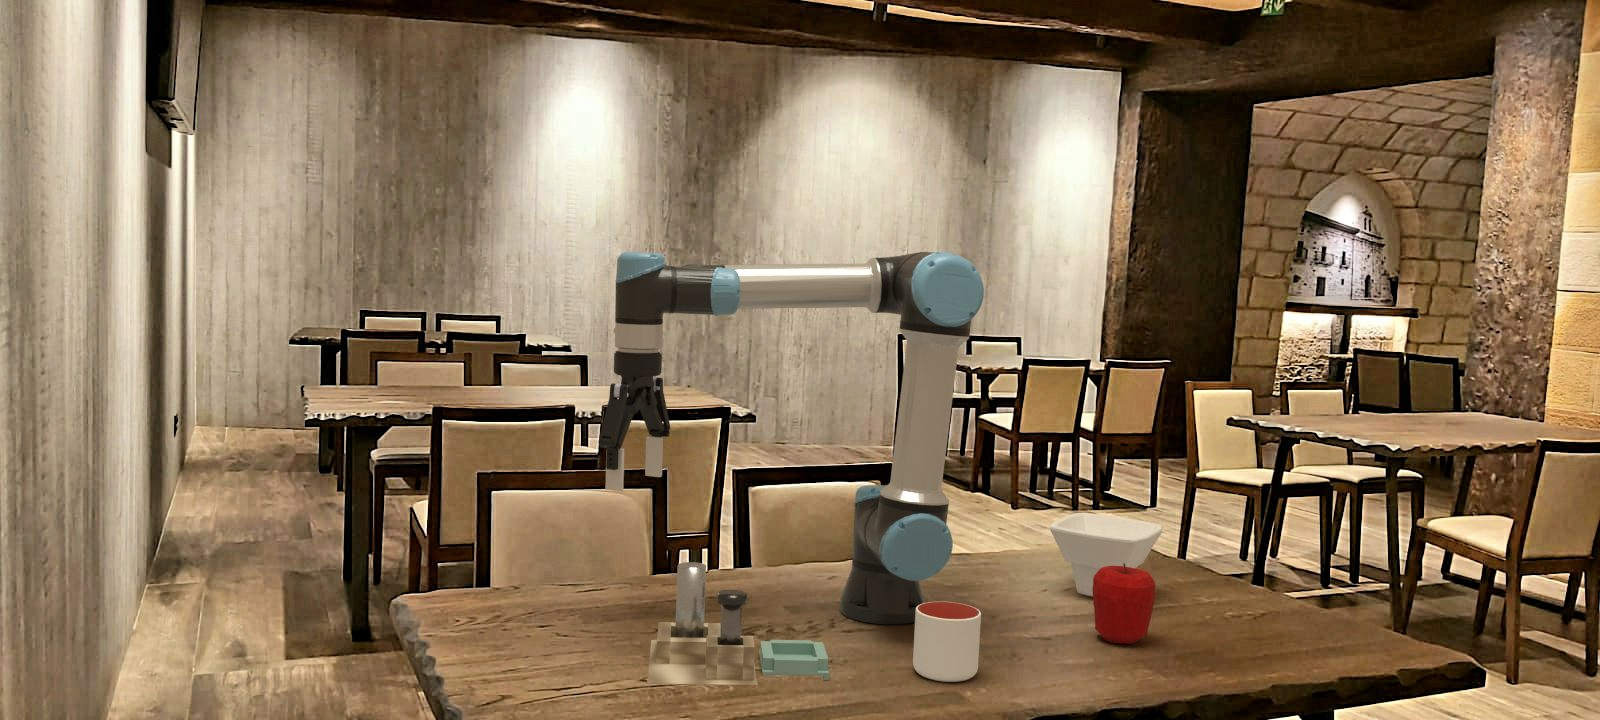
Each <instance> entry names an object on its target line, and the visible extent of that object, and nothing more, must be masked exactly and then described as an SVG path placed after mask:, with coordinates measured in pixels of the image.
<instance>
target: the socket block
mask: <svg viewBox="0 0 1600 720" xmlns="http://www.w3.org/2000/svg"><path fill="white" fill-rule="evenodd" d="M657 626H658V627H657V637H656V639H651V641H650V650H649V660H648V667H647V668H648V669H647V670H648V671H647V681H646V685H704V686H705V685H711V686H713V685H714V686H715V685H717V686H719V685H720V686H724V685H725V686H737V685H738V686H758V680H757V674H756V673H757V671H756V665H755V653H756V651H755V649H756V647H755V640H754V636H753V635H741V639H740V645H720V634H721V622H704V638H675V627H676V621H675V622H670V621H669V622H668V621H662V622H661V621H659V622H658V624H657Z"/></svg>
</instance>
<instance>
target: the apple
mask: <svg viewBox="0 0 1600 720" xmlns="http://www.w3.org/2000/svg"><path fill="white" fill-rule="evenodd" d="M1123 565H1124V566H1106V567H1102V568H1100V569H1099V570H1098V572H1097V573H1096V574H1095V575H1094V577H1093V589H1092V592H1093V596H1092V601H1093V613H1094V627H1095V628H1094V629H1095V631H1096V632H1098V634H1099V635H1100V636H1101V637H1102V638H1103V639H1104V640H1105V641H1106V642H1109V643H1114V644H1115V643H1116V644H1135V643H1137V642H1138V641H1140V640H1141V639H1143V638H1144V637H1145V636H1147V635H1148V631H1149V627H1150V623H1151V618H1152V614H1153V609H1154V605H1155V601H1156V600H1155V599H1156V581H1155V580H1154V578H1153V577H1152V575H1151V574H1150V573H1149V572H1148V571H1147V570H1143V569H1140V568H1137V567H1136V568H1130V567H1125V563H1124V564H1123Z"/></svg>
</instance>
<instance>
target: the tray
mask: <svg viewBox="0 0 1600 720" xmlns="http://www.w3.org/2000/svg"><path fill="white" fill-rule="evenodd" d="M758 656H759V657H758V658H759V662H760V668H761V674H762V675H764V676H768V675H769V676H771V675H772V676H822V678H823V681H829V680H830V670H829V657H828V654H827V650H826V648H825V645H824V642H823V641H813V640H810V639H809V640H808V639H770V640H766V641H765V640H760V646H759V650H758Z"/></svg>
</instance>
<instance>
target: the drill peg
mask: <svg viewBox="0 0 1600 720" xmlns="http://www.w3.org/2000/svg"><path fill="white" fill-rule="evenodd" d="M676 571H677V576H676V577H677V578H676V601H675V603H676V604H675V622H676V627H675V638H704V623H705V609H706V608H705V607H706V606H705V604H706V585H707V583H706V580H707V565H706V564H704V563H702V562H693V561H689V562H688V561H687V562H681V563H678V564H677V570H676Z"/></svg>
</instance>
